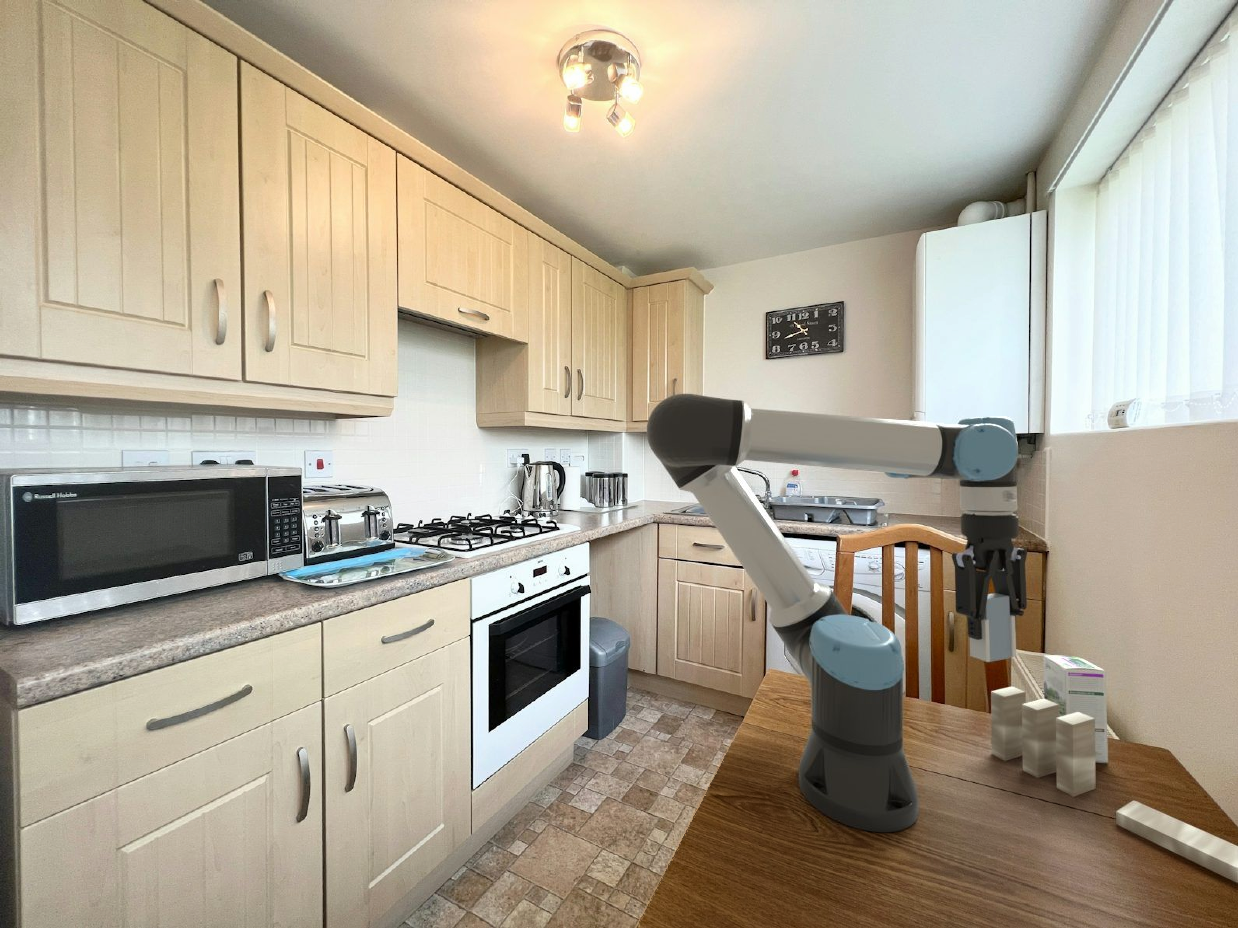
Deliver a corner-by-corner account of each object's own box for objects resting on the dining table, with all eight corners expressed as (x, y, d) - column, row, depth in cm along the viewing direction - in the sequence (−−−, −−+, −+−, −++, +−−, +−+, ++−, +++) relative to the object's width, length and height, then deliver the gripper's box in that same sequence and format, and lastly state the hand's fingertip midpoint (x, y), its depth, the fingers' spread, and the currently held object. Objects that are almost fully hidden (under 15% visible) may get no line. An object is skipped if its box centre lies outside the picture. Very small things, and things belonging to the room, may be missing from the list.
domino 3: (1022, 770, 75) (1022, 703, 75) (1044, 763, 77) (1043, 698, 77) (1037, 777, 73) (1037, 709, 73) (1059, 770, 75) (1058, 704, 75)
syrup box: (1110, 764, 76) (1109, 669, 76) (1065, 759, 77) (1064, 667, 78) (1083, 743, 82) (1082, 655, 82) (1042, 740, 83) (1041, 653, 83)
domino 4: (1056, 787, 71) (1056, 717, 71) (1078, 779, 73) (1077, 711, 73) (1073, 796, 69) (1072, 724, 69) (1095, 788, 71) (1094, 718, 71)
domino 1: (975, 657, 81) (973, 596, 81) (998, 653, 82) (996, 593, 82) (987, 662, 79) (986, 599, 79) (1010, 657, 80) (1009, 596, 80)
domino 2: (991, 753, 79) (991, 691, 79) (1012, 747, 81) (1011, 686, 81) (1004, 760, 77) (1004, 696, 77) (1026, 754, 79) (1025, 691, 79)
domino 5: (1116, 811, 64) (1237, 867, 55) (1133, 799, 66) (1252, 852, 57) (1116, 826, 64) (1237, 885, 55) (1133, 815, 66) (1253, 870, 57)
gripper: (968, 517, 74) (973, 673, 74) (1053, 511, 79) (1058, 656, 79) (924, 513, 81) (929, 655, 81) (1005, 508, 87) (1009, 641, 86)
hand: (993, 655), depth 80 cm, fingers closed on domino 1, 5 cm apart
